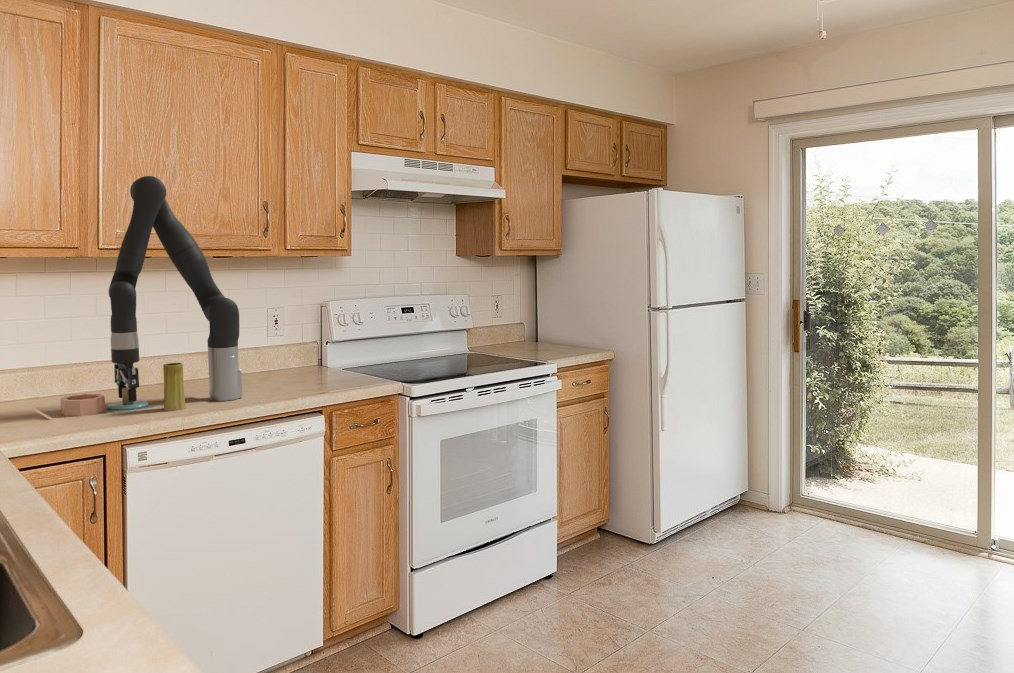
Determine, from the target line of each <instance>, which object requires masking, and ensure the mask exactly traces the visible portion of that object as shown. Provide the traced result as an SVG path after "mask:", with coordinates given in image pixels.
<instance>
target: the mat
mask: <svg viewBox="0 0 1014 673" xmlns="http://www.w3.org/2000/svg"><path fill="white" fill-rule="evenodd" d="M149 408H151V409H152V408H156V406H155V405H152V404H150V403H148V406H147V407H144V408H140V409H133V410H132V411H136V410H143V409H144V410H145V409H149ZM106 410H107V411H109V412H111V413H120V412H129V411H131V410H109V409H108V405H105V411H106Z"/></svg>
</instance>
